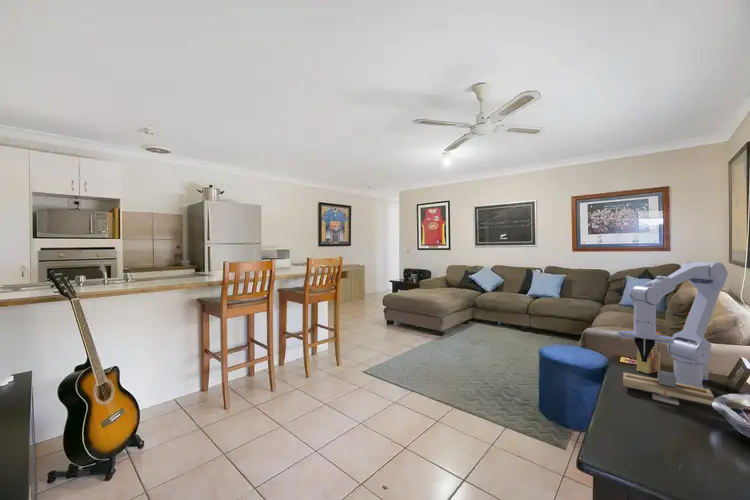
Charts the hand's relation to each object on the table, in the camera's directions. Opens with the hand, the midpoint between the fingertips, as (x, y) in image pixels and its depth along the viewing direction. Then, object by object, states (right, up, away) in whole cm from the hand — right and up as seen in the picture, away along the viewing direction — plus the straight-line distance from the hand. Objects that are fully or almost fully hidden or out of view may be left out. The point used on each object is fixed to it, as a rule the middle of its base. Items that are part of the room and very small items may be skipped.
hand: (644, 361), depth 109 cm
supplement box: (+28, -10, +11) cm, 31 cm away
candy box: (+16, -10, +17) cm, 25 cm away
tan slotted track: (+1, -9, -6) cm, 11 cm away
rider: (+2, -6, -6) cm, 9 cm away
